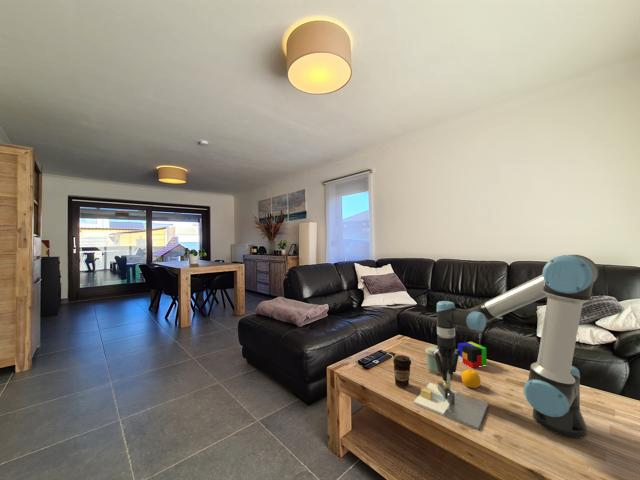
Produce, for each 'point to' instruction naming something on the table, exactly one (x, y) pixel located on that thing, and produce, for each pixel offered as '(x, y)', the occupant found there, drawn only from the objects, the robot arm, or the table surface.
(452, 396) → the pivot post
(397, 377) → the coffee cup
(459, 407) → the plate
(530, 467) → the table surface
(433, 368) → the coffee cup
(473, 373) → the orange
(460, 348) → the puzzle toy
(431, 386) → the door board
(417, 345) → the table surface
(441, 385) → the swing bar
